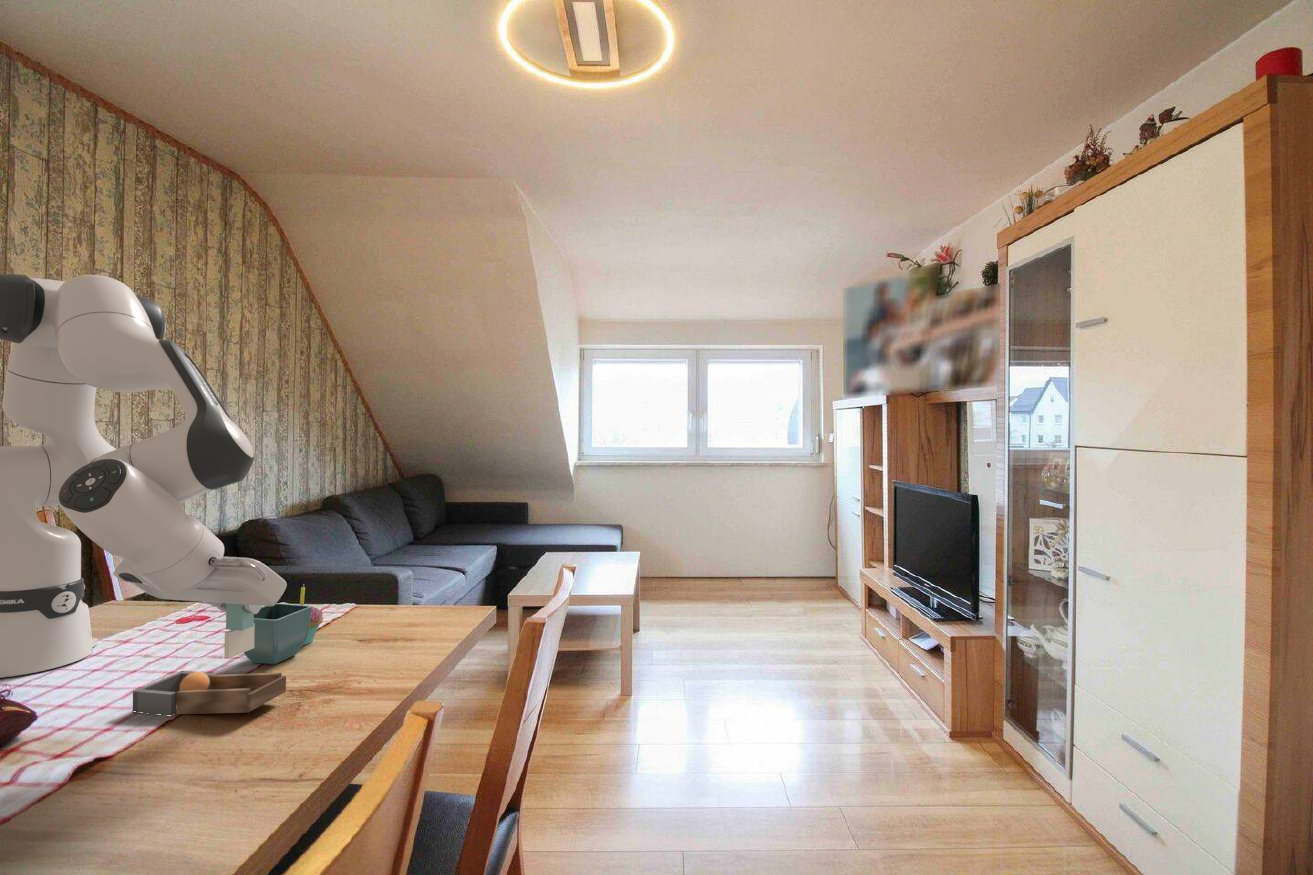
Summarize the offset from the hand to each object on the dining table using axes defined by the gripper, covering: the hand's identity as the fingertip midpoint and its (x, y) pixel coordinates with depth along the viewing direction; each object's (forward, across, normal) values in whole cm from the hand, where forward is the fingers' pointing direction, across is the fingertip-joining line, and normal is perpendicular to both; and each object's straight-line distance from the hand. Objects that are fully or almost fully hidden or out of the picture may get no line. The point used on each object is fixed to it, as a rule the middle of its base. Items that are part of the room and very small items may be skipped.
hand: (243, 608), depth 88 cm
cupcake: (+29, +12, -7) cm, 32 cm away
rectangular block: (+4, 0, +5) cm, 7 cm away
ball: (+8, +8, +9) cm, 14 cm away
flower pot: (+23, +10, -1) cm, 25 cm away
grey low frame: (+10, +11, +11) cm, 19 cm away
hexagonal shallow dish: (+10, +1, +11) cm, 15 cm away
